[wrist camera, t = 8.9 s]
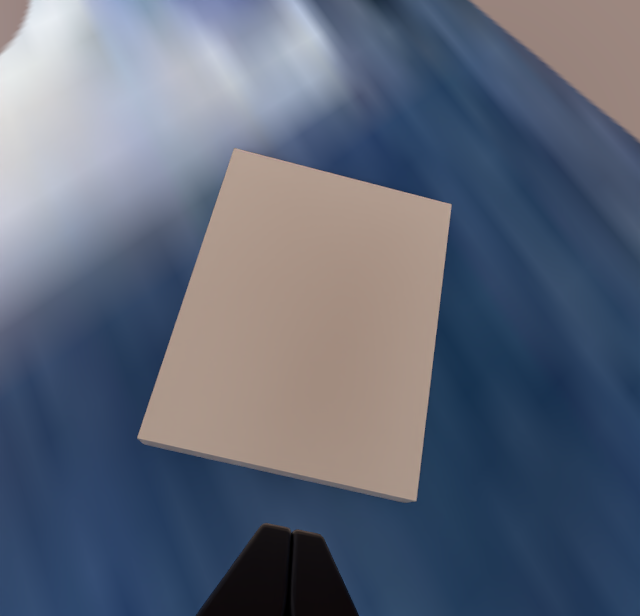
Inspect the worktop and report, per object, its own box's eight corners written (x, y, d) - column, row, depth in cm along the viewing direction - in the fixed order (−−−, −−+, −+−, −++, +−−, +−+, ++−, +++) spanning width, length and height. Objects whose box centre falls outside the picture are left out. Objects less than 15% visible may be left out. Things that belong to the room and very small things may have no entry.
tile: (416, 501, 13) (451, 204, 17) (137, 438, 13) (234, 148, 16) (399, 503, 15) (435, 228, 18) (146, 446, 14) (234, 177, 18)
